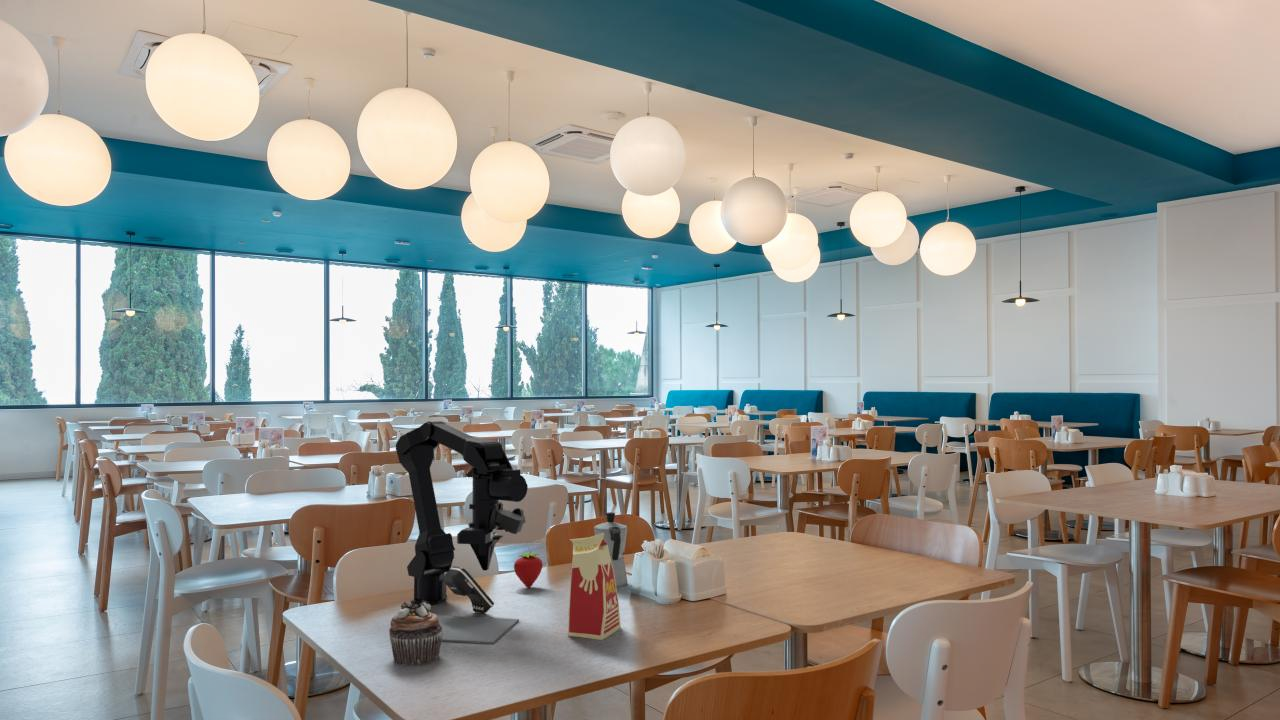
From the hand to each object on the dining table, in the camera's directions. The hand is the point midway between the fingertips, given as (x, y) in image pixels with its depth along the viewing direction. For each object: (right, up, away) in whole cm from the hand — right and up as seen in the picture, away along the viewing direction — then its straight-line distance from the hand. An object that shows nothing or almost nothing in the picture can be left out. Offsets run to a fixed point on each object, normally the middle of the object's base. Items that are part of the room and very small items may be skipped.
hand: (485, 570), depth 177 cm
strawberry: (+6, -11, +24) cm, 27 cm away
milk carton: (+24, -9, -14) cm, 29 cm away
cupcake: (-7, -9, -30) cm, 32 cm away
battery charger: (0, -9, 0) cm, 9 cm away
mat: (-2, -9, -12) cm, 15 cm away
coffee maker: (+27, -11, +27) cm, 39 cm away
